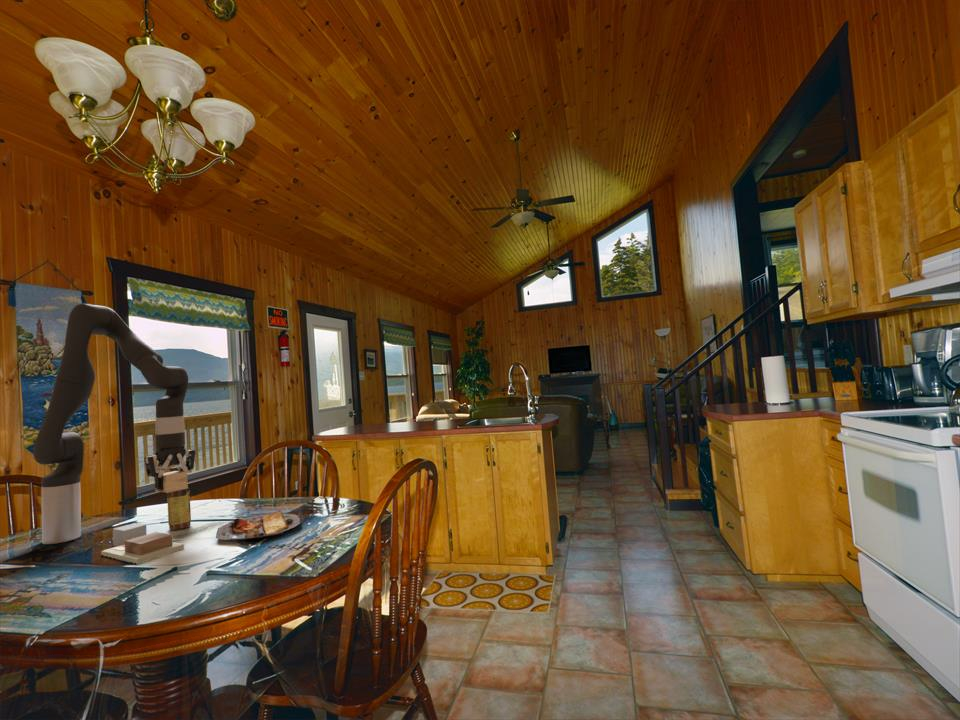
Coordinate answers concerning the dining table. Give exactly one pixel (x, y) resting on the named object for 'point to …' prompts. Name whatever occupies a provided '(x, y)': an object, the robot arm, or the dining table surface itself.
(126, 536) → the grey brick
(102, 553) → the build board
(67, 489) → the robot arm
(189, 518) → the sauce bottle
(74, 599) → the dining table surface
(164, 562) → the dining table surface
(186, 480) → the oak brick
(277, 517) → the food plate
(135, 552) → the base brick
